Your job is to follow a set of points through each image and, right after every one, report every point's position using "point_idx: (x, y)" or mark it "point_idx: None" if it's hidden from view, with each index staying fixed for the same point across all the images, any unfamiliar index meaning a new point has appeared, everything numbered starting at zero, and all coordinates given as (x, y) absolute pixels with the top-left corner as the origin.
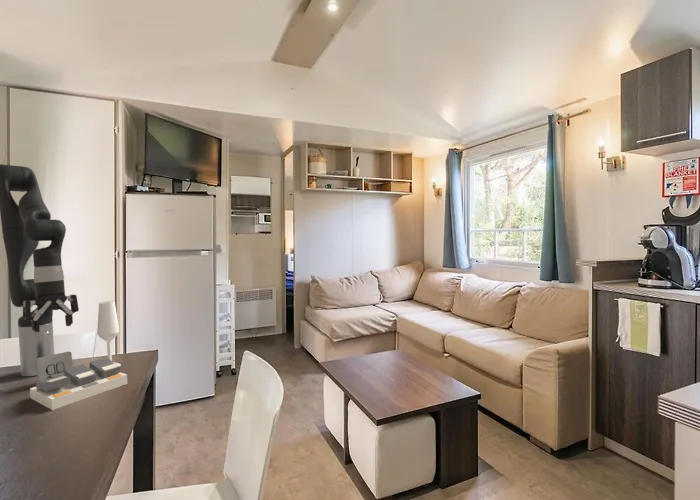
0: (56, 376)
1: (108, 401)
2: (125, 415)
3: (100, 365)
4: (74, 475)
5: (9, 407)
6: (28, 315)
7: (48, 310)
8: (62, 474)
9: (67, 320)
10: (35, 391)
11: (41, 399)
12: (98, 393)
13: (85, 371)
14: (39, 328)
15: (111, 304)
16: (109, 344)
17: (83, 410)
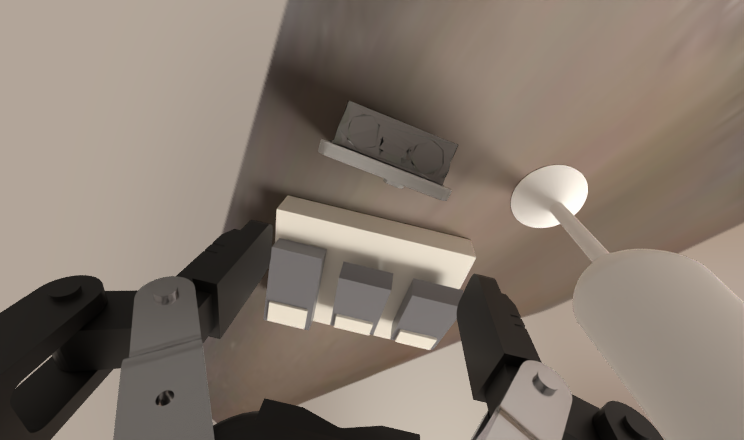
0: (321, 262)
1: (348, 347)
2: (324, 390)
3: (413, 320)
4: (226, 411)
5: (239, 200)
6: (65, 392)
7: None
8: (220, 404)
9: (470, 336)
10: (275, 241)
11: None
12: None
13: (366, 315)
14: (257, 282)
15: None
16: (590, 259)
17: (307, 336)
